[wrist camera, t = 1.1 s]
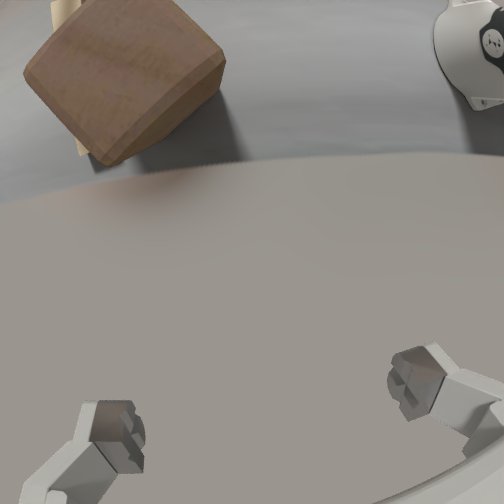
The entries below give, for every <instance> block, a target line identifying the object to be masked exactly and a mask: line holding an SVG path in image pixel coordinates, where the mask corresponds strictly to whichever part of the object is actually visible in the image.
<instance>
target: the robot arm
mask: <svg viewBox="0 0 504 504" xmlns="http://www.w3.org/2000/svg"><path fill="white" fill-rule="evenodd" d="M434 45H435V50H436V54H437V57H438V60H439V63H440V65H441V67H442V69H443V71H444V73H445V75H446V76H447V78H448V79H449V80H450V82H451V83H452V84H453V85H454V86H455V87H456V88H457V89H458V90H459V91H460V92H462V93H463V94H464V96H465V97H466V99H467V101H468V102H469V104H470V106H471V107H472V109H473V110H475V111H481V110H484V109H487V108H491V107H494V106H497V105H500V104H503V103H504V7H500V6H498V5H497V4H495V3H493V2H492V1H490V0H484V1H477V2H468V1H466V0H450V1H449V5H448V8H447V10H446V11H444V12H443V13H442V14H441V15H440V16H439V17H438V19H437V21H436V24H435V28H434ZM481 102H482V103H481ZM391 364H392V365H393V366H394V367H393V368H392V369H391V371H390V372H389V374H388V378H387V383H388V389H389V392H390V394H391V396H392V397H393V399H395V400H397V401H399V402H400V407H399V408H400V410H401V412H402V413H403V415H404V416H405V418H406V419H407V421H408V422H409V421H411V420H414V419H417V418H419V417H422V416H424V415H427V414H429V413H430V414H429V415H430V416H432V417H433V418H435V419H437V420H439V421H440V422H442V423H444V424H445V425H447V426H449V427H451V428H452V429H454V430H456V431H458V432H460V433H461V434H463V435H465V436H467V437H468V438H470V439H469V440H468V442H467V443H466V445H465V446H464V448H463V450H462V452H463V453H464V455H465V456H466V458H467V459H466V460H464V461H463V462H461V463H459V464H457V465H455V466H454V467H452V468H450V469H448V470H446V471H445V472H443V473H441V474H439V475H437V476H435V477H433V478H431V479H429V480H427V481H425V482H423V483H421V484H418V485H416V486H414V487H412V488H410V489H407V490H405V491H403V492H401V493H398V494H396V495H393V496H391V497H388V498H386V499H384V500H381V501H378V502H376V503H373V504H504V383H502V382H500V381H497V380H494V379H491V378H488V377H485V376H483V375H480V374H477V373H475V372H472V371H469V370H466V369H464V368H463V369H461V370H460V369H459V368H458V367H457V365H456V364H455V363H454V362H453V361H452V360H451V359H450V358H449V357H448V356H447V354H446V353H445V352H444V351H443V350H442V349H441V348H440V347H439V346H438V345H437V344H436V343H435V342H429V343H427V344H424V345H421V346H417V347H414V348H412V349H409V350H406V351H402V352H399V353H396V354H395V355H394V356H393V358H392V362H391ZM144 445H145V429H144V425H143V422H142V420H141V418H140V417H139V416H137V415H136V414H135V406H134V404H133V402H132V401H130V400H121V401H120V400H117V401H116V400H113V401H111V400H109V401H108V400H105V401H103V400H102V401H101V400H100V401H88V400H86V401H85V402H84V403H83V404H82V407H81V411H80V415H79V418H78V422H77V426H76V429H75V433H74V437H73V441H68V442H67V443H66V444H65V445H64V446H62V447H61V448H60V449H59V450H58V451H57V452H56V453H55V454H54V455H53V456H52V457H51V458H50V459H49V460H48V461H47V462H46V463H45V464H43V465H42V466H41V467H40V468H39V469H38V470H37V471H36V472H35V473H34V474H33V475H32V476H31V477H30V478H29V479H28V480H26V481H25V482H24V484H23V489H22V492H21V496H20V501H19V504H98V502H99V501H100V499H101V498H102V497H103V495H104V494H105V493H106V491H107V490H108V488H109V487H110V485H111V484H112V483H113V481H114V480H115V479H116V477H117V476H118V474H128V473H129V474H133V473H143V469H144V455H143V453H142V452H141V449H142V447H143V446H144Z"/></svg>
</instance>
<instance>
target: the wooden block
mask: <svg viewBox="0 0 504 504" xmlns="http://www.w3.org/2000/svg"><path fill="white" fill-rule="evenodd" d="M225 64H226V59H225V56H224V53H223V50H222V49H221V48H220V47H219V46H218V45H217V44H216V43H215V42H214V41H213V40H212V39H211V38H210V37H209V36H208V35H207V34H206V33H205V32H204V31H203V30H202V29H201V28H200V27H199V26H198V25H197V24H196V23H195V22H194V21H193V20H192V19H191V18H190V17H189V16H188V15H187V14H186V13H185V12H184V11H183V10H182V9H181V8H180V7H179V6H178V5H177V4H175V3H174V2H173V1H172V0H86V1H85V2H84V3H83V4H82V5H81V6H80V7H79V8H78V9H77V10H76V11H75V12H74V13H73V14H72V15H71V16H70V17H69V18H68V19H67V20H66V21H65V22H64V23H63V24H62V25H61V26H60V27H59V28H58V29H57V30H56V31H55V32H54V33H53V34H52V36H51V37H50V38H49V39H48V40H47V41H46V42H45V43H44V45H43V46H42V47H41V48H40V49H39V50H38V52H37V53H36V54H35V55H34V56H33V58H32V59H31V60H30V61H29V63H28V64H27V65H26V67H25V70H24V72H23V75H24V78H25V80H26V82H27V83H28V85H29V86H30V87H31V88H32V89H33V90H34V92H35V93H36V94H37V95H38V96H39V97H40V98H41V99H42V101H43V102H44V103H45V104H46V105H47V106H48V107H49V108H50V110H51V111H52V112H53V113H54V114H55V115H56V116H57V117H58V118H59V120H60V121H61V122H62V123H63V124H64V125H65V126H66V127H67V128H68V129H69V131H70V132H71V133H72V134H73V135H74V136H75V137H76V138H77V139H78V140H79V141H80V142H81V143H82V145H83V146H84V147H85V148H86V149H87V150H88V151H89V152H90V153H91V154H92V155H93V156H94V157H95V158H96V159H97V161H98V162H99V163H101V164H103V165H106V166H108V167H112V166H114V165H117V164H119V163H121V162H123V161H125V160H126V159H128V158H130V157H132V156H133V155H135V154H137V153H139V152H141V151H143V150H144V149H146V148H148V147H150V146H152V145H154V144H156V143H158V142H160V141H162V140H163V139H164V138H166V137H167V136H168V135H169V134H170V133H171V132H172V131H173V130H174V129H175V128H176V127H177V126H179V125H180V124H181V123H182V122H183V121H184V120H185V119H186V118H187V117H189V116H190V115H191V114H192V113H193V112H194V111H195V110H197V109H198V108H199V107H200V106H201V105H202V104H204V103H205V102H206V101H207V100H208V99H210V98H211V97H212V96H213V95H214V94H216V93H217V91H218V89H219V87H220V84H221V80H222V76H223V72H224V68H225Z"/></svg>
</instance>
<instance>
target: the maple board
mask: <svg viewBox="0 0 504 504" xmlns="http://www.w3.org/2000/svg"><path fill="white" fill-rule="evenodd" d="M85 1H86V0H56V1H54V2H52V3H51V13H52V22H53V30H54V32H55V31H56V30H57V29H58V28H59V27H60V26H61V25H62V24H63V23H64V22H65V21H66V20H67V19H68V18H69V17H70V16H71V15H72V14H73V13H74V12H75V11H76V10H77V9H78V8H79V7H80V6H81V5H82V4H83V3H84V2H85ZM75 140H76V144H77V148H78V151H79V155H80V156H82V155H84V154H87V153H90V152H89V151H88V150H87V149H86V148H85V147H84V146H83V145H82V143H81V142H80V141H79V140H78V139H77V138H76V137H75Z"/></svg>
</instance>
